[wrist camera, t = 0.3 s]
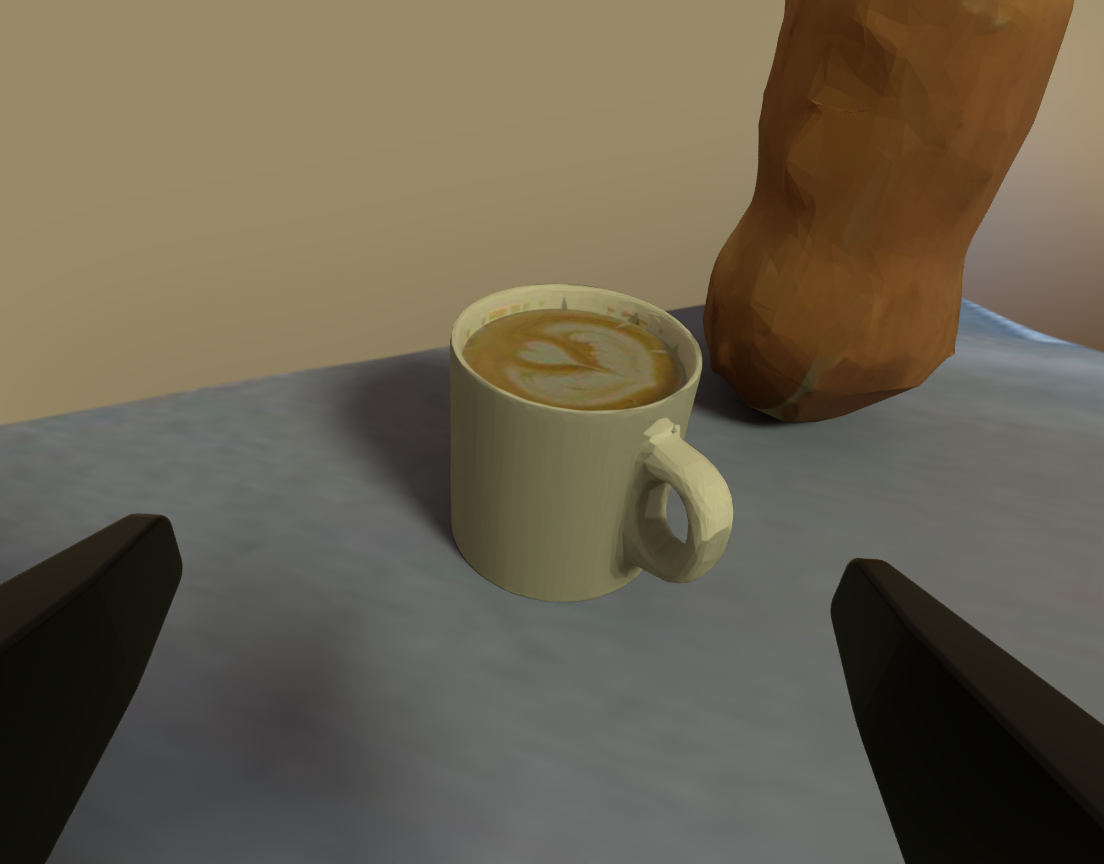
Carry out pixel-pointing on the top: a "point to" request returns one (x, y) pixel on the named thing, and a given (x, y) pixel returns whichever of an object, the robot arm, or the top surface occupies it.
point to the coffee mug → (577, 443)
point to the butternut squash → (872, 194)
